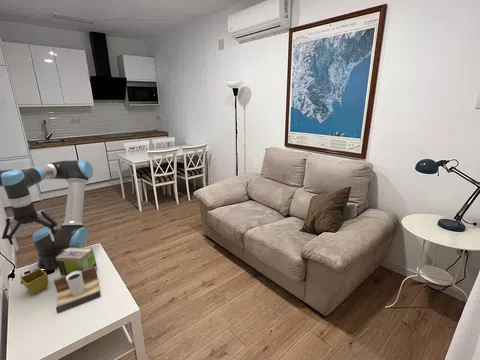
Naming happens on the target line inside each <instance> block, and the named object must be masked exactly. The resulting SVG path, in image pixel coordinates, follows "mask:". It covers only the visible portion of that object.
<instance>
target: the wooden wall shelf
mask: <svg viewBox="0 0 480 360" xmlns="http://www.w3.org/2000/svg"><path fill="white" fill-rule="evenodd" d="M81 272H82V277H83V282H84V286H85V291H84V292H83V293H82V294H80V295H77V296H73V295H72V293H71V291H70V288H69V286H68V283H67V280H66V276H67V275H66V276H63V277H58V278H54V279H53V283H54V286H55V289H56V292H57V296H56V306H55V311H56V313H57V314H59V313H63V312H65V311H67V310H71V309H73V308H75V307H79V305H84V304H86V303H88V302H90V301H94V300H96V299H98V298H101V296H102V295H101V288H100V281H99V278H98V274H97V271H96V269H95V266H94V267H91V268H88V269H85V270H82V271H81Z"/></svg>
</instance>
